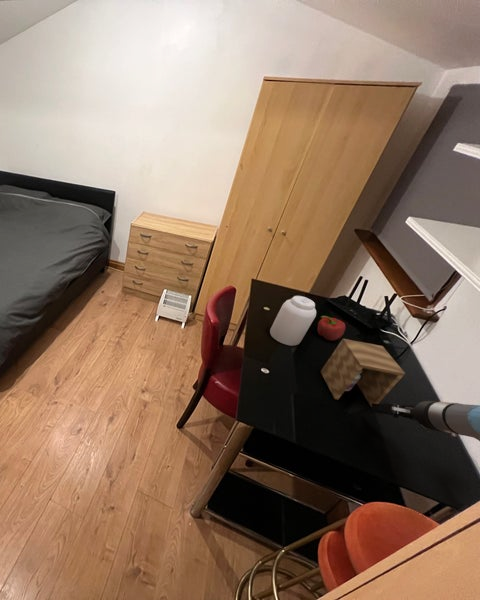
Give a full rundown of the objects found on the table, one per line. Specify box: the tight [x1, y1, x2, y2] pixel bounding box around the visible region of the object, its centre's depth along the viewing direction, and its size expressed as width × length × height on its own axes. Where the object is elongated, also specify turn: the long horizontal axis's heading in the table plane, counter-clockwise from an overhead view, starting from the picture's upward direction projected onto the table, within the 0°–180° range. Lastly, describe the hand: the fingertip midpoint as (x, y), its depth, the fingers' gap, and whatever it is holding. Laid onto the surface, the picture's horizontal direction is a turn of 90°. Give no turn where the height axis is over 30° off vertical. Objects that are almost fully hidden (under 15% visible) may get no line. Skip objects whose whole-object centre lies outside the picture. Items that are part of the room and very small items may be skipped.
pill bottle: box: [344, 369, 362, 392], centre depth 119 cm, size 5×5×10 cm
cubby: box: [320, 338, 406, 408], centre depth 116 cm, size 14×13×17 cm
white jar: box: [269, 295, 317, 347], centre depth 139 cm, size 12×12×20 cm
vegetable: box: [317, 315, 346, 342], centre depth 145 cm, size 11×10×10 cm
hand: (374, 407), depth 106 cm, fingers closed
